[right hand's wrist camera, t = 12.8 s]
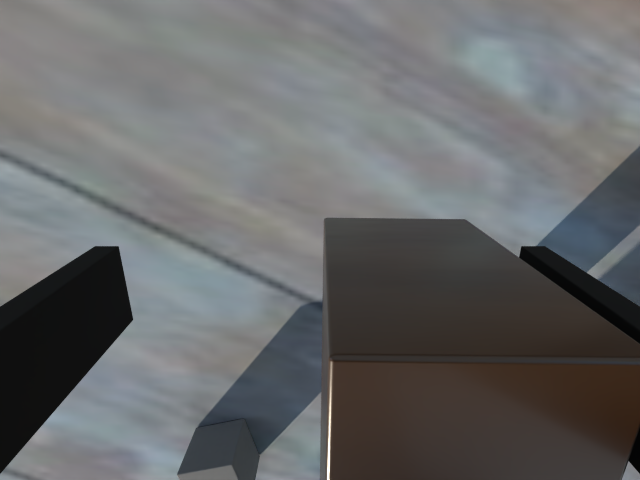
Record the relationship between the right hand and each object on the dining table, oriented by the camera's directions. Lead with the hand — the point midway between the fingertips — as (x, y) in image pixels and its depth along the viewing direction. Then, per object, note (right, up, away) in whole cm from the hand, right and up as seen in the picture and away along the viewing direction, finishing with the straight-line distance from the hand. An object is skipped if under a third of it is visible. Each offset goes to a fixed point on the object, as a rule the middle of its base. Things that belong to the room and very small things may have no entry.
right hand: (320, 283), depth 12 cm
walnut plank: (+2, -9, +4) cm, 10 cm away
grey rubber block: (-9, -19, +25) cm, 32 cm away
